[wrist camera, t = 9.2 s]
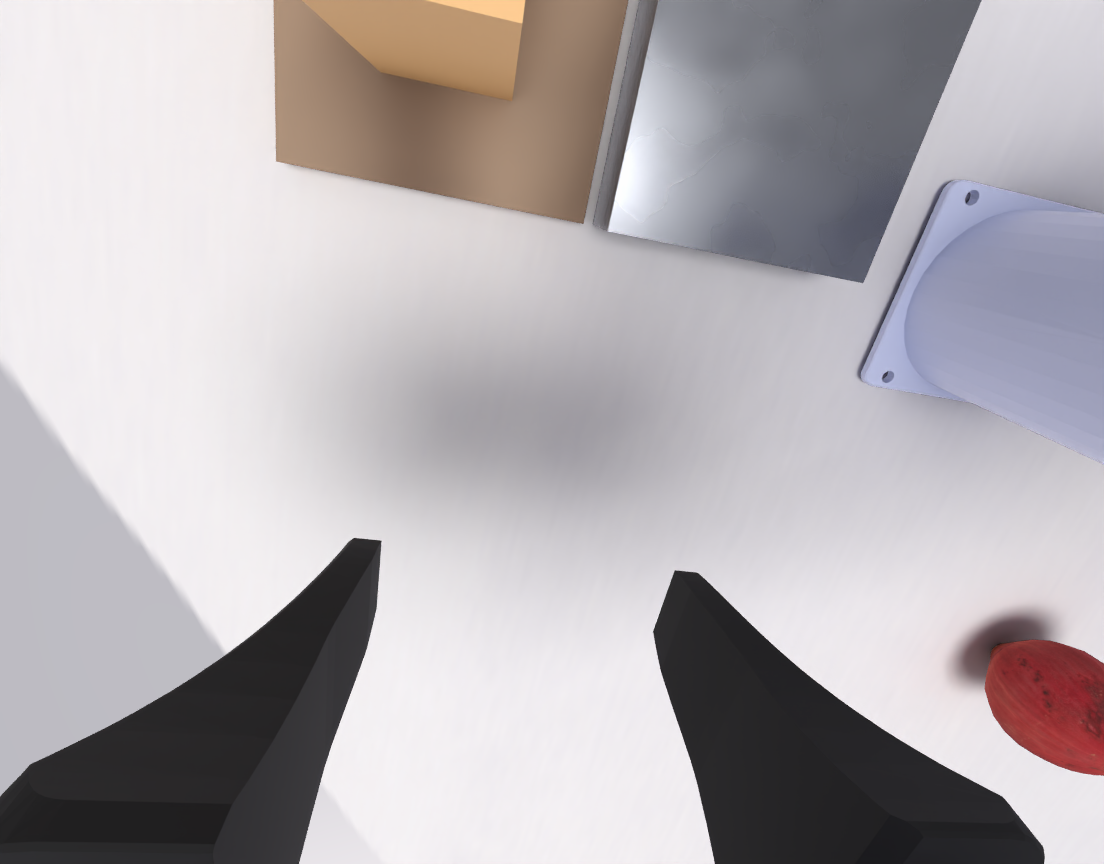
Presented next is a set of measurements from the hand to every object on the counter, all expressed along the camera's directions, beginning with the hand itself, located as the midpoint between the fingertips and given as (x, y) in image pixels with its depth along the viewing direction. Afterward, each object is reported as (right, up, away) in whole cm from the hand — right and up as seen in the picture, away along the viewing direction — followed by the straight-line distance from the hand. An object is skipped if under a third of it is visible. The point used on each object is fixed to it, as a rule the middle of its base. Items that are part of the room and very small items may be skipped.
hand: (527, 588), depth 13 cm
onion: (+27, -9, +18) cm, 33 cm away
